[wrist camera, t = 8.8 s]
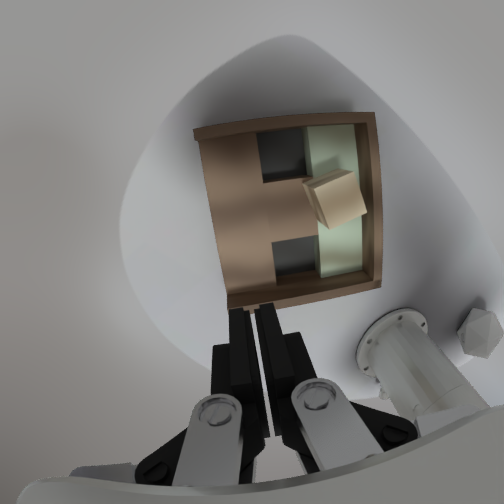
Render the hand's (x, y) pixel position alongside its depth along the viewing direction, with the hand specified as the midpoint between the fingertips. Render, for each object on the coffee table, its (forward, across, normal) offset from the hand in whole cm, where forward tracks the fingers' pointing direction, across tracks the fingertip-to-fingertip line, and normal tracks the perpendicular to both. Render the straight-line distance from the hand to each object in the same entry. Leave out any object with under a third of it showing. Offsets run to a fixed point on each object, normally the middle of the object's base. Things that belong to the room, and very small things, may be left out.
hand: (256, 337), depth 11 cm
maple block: (+19, -9, -2) cm, 21 cm away
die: (+22, -38, +24) cm, 50 cm away
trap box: (+21, -6, 0) cm, 22 cm away
